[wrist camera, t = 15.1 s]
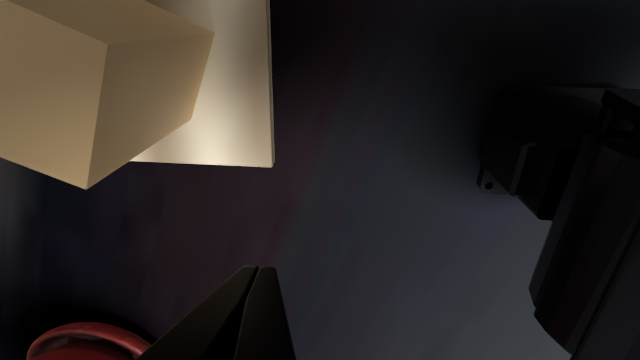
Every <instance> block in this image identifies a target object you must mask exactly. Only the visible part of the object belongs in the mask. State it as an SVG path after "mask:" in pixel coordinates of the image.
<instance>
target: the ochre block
mask: <svg viewBox="0 0 640 360" xmlns="http://www.w3.org/2000/svg"><path fill="white" fill-rule="evenodd" d="M214 35H215V33H214V32H212V31H210V30H208V29H205V28H203V27H201V26H199V25H197V24H194V23H192V22H190V21H188V20H186V19H184V18H181V17H179V16H177V15H175V14H173V13H170V12H168V11H166V10H164V9H162V8H160V7H157V6H155V5H153V4H151V3H149V2H146V1H144V0H0V157H2V158H4V159H7V160H9V161H12V162H15V163H17V164H20V165H23V166H25V167H28V168H31V169H33V170H36V171H38V172H41V173H44V174H46V175H49V176H52V177H54V178H57V179H60V180H62V181H65V182H67V183H70V184H73V185H75V186H78V187H81V188H83V189H88V188H89V187H91V186H92V185H94V184H95V183H97V182H98V181H100V180H101V179H103V178H104V177H106V176H107V175H109V174H110V173H112V172H113V171H115V170H116V169H118V168H119V167H121V166H122V165H124V164H125V163H127V162H128V161H130V160H131V159H133V158H134V157H136V156H137V155H139V154H140V153H142V152H143V151H145V150H146V149H148V148H149V147H151V146H152V145H154V144H155V143H157V142H158V141H160V140H161V139H163V138H164V137H166V136H167V135H169V134H170V133H172V132H173V131H175V130H176V129H178V128H179V127H181V126H182V125H184V124H185V123H187V122H188V121H190V120H191V118H192V115H193V111H194V108H195V104H196V100H197V97H198V93H199V89H200V86H201V82H202V78H203V75H204V71H205V68H206V64H207V60H208V57H209V53H210V49H211V46H212V42H213V38H214Z"/></svg>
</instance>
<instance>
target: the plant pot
mask: <svg viewBox="0 0 640 360" xmlns="http://www.w3.org/2000/svg"><path fill="white" fill-rule="evenodd" d="M150 346H151V345H150V344H149V343H148V342H146V341H145V340H144V339H142V338H141V337H140V336H139V335H137V334H134V333H132V332H130V331H127V330H125V329H122V328H120V327H117V326H113V325H110V324H105V323H98V322H77V323H70V324H66V325H62V326H59V327H56V328H54V329H52V330H49V331H47V332H46V333H44V334H42V335H41V336H40V337H38V338H37V339H36V340H35V341H34V342H33V343H32V345H31V347H30V348H29V350H28V353H27V360H137V357H138V356H140V355H141V354H142V353H143V352H144V351H145V350H146V349H148V348H149V347H150Z"/></svg>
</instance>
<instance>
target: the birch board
mask: <svg viewBox="0 0 640 360" xmlns="http://www.w3.org/2000/svg"><path fill="white" fill-rule="evenodd" d="M144 1H146V2H149V3H151V4H153V5H155V6H157V7H160V8H162V9H164V10H166V11H168V12H170V13H173V14H175V15H177V16H179V17H181V18H184V19H186V20H188V21H190V22H192V23H194V24H197V25H199V26H201V27H203V28H205V29H208V30H210V31H212V32H214V33H215V35H214V38H213V42H212V46H211V49H210V53H209V57H208V60H207V64H206V68H205V71H204V75H203V78H202V82H201V86H200V89H199V93H198V97H197V100H196V104H195V108H194V111H193V115H192V118H191V120H190V121H188V122H187V123H185V124H184V125H182V126H181V127H179V128H178V129H176V130H175V131H173V132H172V133H170V134H169V135H167V136H166V137H164V138H163V139H161V140H160V141H158V142H157V143H155V144H154V145H152V146H151V147H149V148H148V149H146V150H145V151H143V152H142V153H140V154H139V155H137V156H136V157H134V158H133V159H131V160H130V161H143V162H165V163H187V164H209V165H231V166H253V167H272V166H273V164H274V162H275V151H274V120H273V90H272V59H271V29H270V0H144Z"/></svg>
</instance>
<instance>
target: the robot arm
mask: <svg viewBox="0 0 640 360" xmlns="http://www.w3.org/2000/svg"><path fill="white" fill-rule="evenodd" d="M512 90H514V95H513V96H512V97H511V98H508V94H509V92H510V91H512ZM480 164H481V165H482V170H481V174H480V178H479V182H478V186H479V188H480V189H481V190H482V191H483V192H484V193H494V194H510V195H511V196H517V197H518V198H519V199H520V200H521V201H522V202H523V203H524V204H525V205H526V206H527V207H528V208H529V210H530V211H531V212H532V213H533V214H534V215H535V216H536V217H537V218H538V219H541V220H551V221H552V224H551V226H550V229H549V232H548V234H547V237H546V240H545V243H544V245H543V248H542V251H541V253H540V256H539V259H538V262H537V264H536V267H535V270H534V272H533V275H532V278H531V282H530V285H529V291H530V294H531V298H532V301H533V304H534V306H535V308H536V309H535V312H534V316H535V318H536V319H537V321H538V322H539V323H540V325H541V326H542V327H543V329H544V330H545V331H546V332H547V333H548V334H549V335H550V336H551V337H552V338H553V339H554V340H555V341H556V342H557V343H558V344H559V345H560V346H561V347H562V348H563V349H564V350H565V351H567V352H568V353H569V354H571V355H572V356H571V358H570V360H640V89H619V88H607V87H579V86H550V85H522V84H510V85H507V86H505V87H504V88H503V89H502V91H501V93H500V97H499V101H498V105H497V109H496V113H495V117H494V120H493V121H492V122H491V123H490V124H489V127H488V131H487V135H486V139H485V143H484V147H483V152H482V156H481V160H480ZM488 182H491V184H490V185H489V186H487V187H485V184H486V183H488ZM137 360H296V356H295V351H294V347H293V343H292V338H291V334H290V329H289V325H288V320H287V316H286V311H285V307H284V303H283V298H282V294H281V289H280V285H279V280H278V276H277V271H276V268H275V267H266V266H262V267H260V268H259V267H258V266H247V265H245V266H242V267H241V268H240V269H239V270H238V271H237V272H235V273H234V274H233V275H232V276H231V277H230V278H228V279H227V280H226V281H225V282H224V283H223V284H222V285H220V286H219V287H218V288H217V289H216V290H215V291H213V292H212V293H211V294H210V295H209V296H208V297H206V298H205V299H204V300H203V301H202V302H201V303H200V304H198V305H197V306H196V307H195V308H194V309H193V310H191V311H190V312H189V313H188V314H187V315H186V316H185V317H183V318H182V319H181V320H180V321H179V322H178V323H176V324H175V325H174V326H173V327H172V328H171V329H170V330H168V331H167V332H166V333H165V334H164V335H163V336H161V337H160V338H159V339H158V340H157V341H156V342H155V343H153V344H152V345H151V346H150V347H149V348H148V349H146V350H145V351H144V352H143V353H142V354H141V355H140V356H138V357H137Z"/></svg>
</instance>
